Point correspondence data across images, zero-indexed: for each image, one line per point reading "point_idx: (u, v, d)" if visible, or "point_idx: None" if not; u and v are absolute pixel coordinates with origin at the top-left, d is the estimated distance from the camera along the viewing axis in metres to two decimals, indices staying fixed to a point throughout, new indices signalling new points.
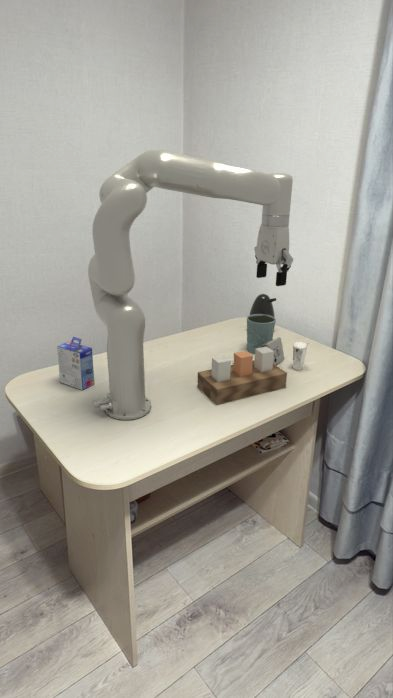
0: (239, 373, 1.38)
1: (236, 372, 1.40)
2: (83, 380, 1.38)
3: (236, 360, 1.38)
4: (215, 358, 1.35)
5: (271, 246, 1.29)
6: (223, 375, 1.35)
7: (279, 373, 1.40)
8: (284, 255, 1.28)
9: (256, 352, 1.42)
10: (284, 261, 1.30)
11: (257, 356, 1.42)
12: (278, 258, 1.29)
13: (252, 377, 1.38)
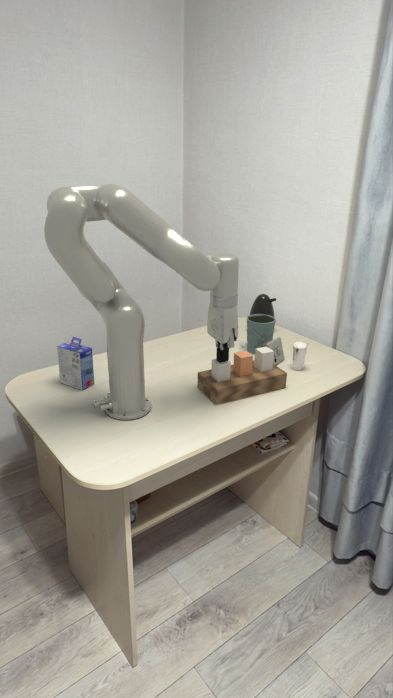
0: (239, 373, 1.38)
1: (236, 372, 1.40)
2: (83, 380, 1.38)
3: (236, 360, 1.38)
4: (215, 360, 1.35)
5: (219, 326, 1.27)
6: (223, 377, 1.35)
7: (279, 373, 1.40)
8: (229, 344, 1.28)
9: (256, 352, 1.42)
10: None
11: (257, 356, 1.42)
12: (227, 338, 1.27)
13: (252, 377, 1.38)
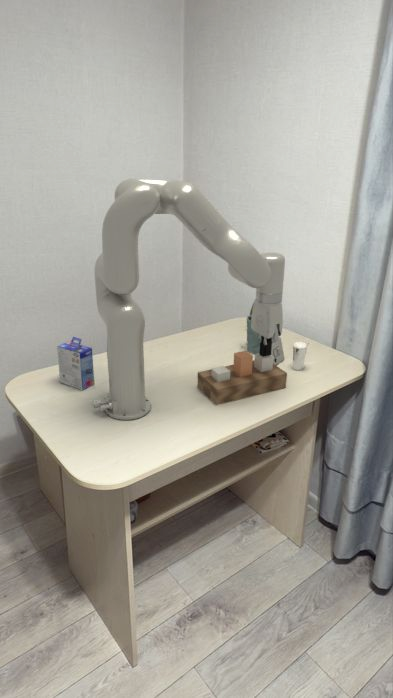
0: (239, 373, 1.38)
1: (236, 372, 1.40)
2: (83, 380, 1.38)
3: (236, 360, 1.38)
4: (215, 369, 1.37)
5: (265, 321, 1.34)
6: None
7: (279, 373, 1.40)
8: (274, 339, 1.35)
9: (256, 357, 1.42)
10: None
11: (257, 361, 1.42)
12: (272, 333, 1.33)
13: (252, 377, 1.38)
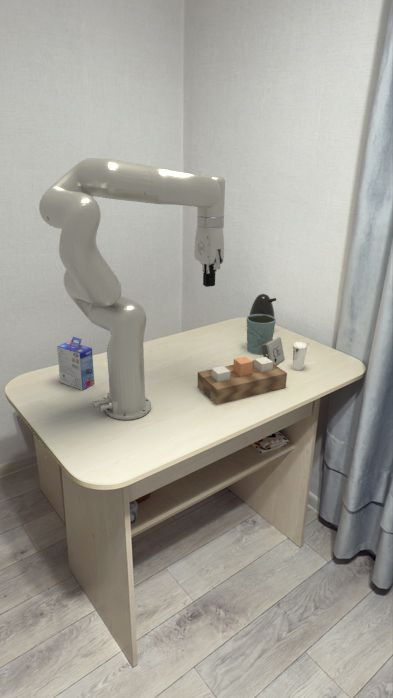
0: None
1: None
2: (83, 380, 1.38)
3: (236, 366, 1.39)
4: (215, 369, 1.37)
5: (206, 247, 1.31)
6: None
7: (279, 373, 1.40)
8: (215, 266, 1.32)
9: (255, 362, 1.43)
10: None
11: (256, 366, 1.43)
12: (213, 259, 1.31)
13: (252, 377, 1.38)
